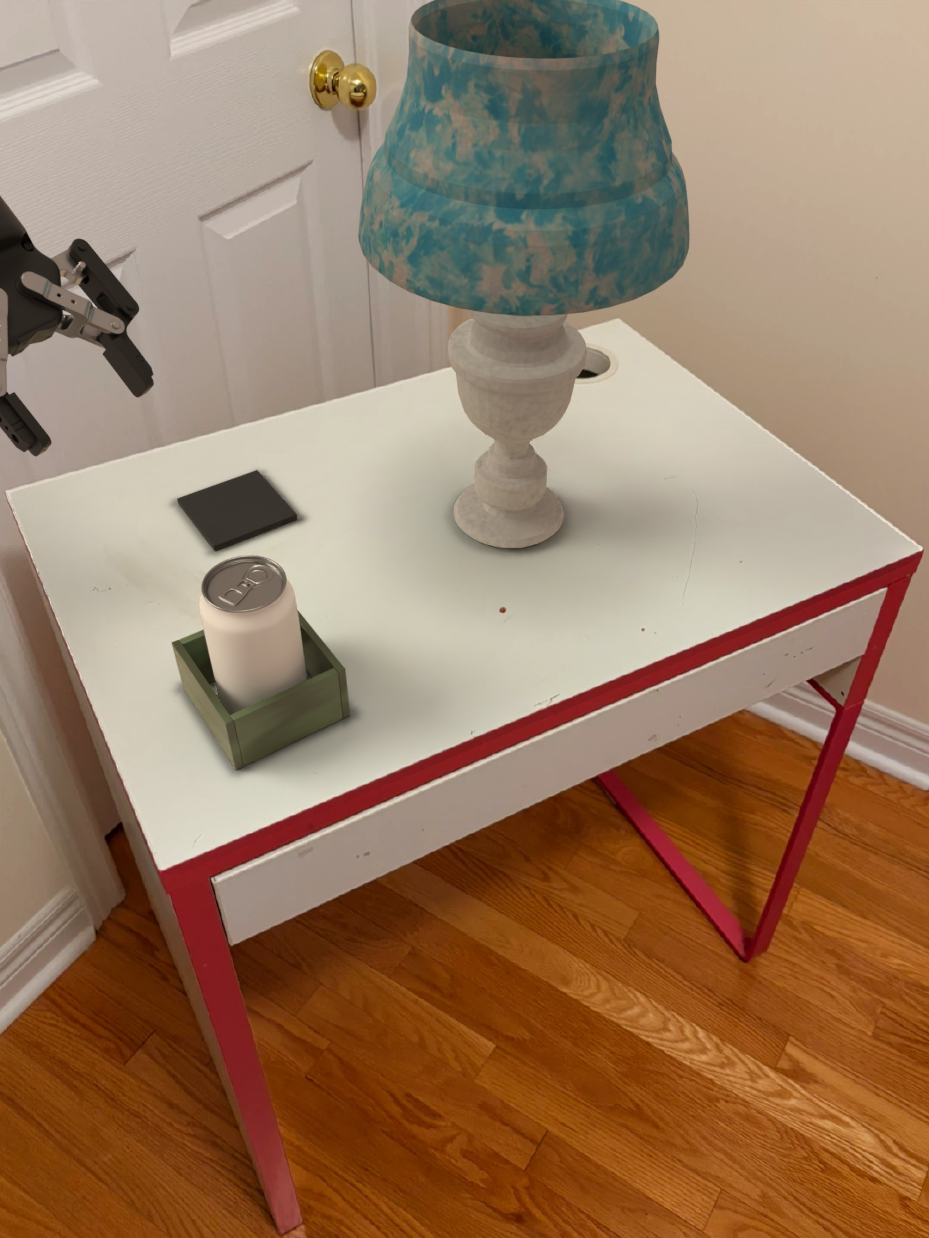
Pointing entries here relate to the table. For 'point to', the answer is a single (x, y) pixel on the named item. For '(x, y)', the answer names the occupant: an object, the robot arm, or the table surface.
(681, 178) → the table lamp
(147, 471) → the table surface
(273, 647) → the can
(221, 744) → the caddy
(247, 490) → the mat
